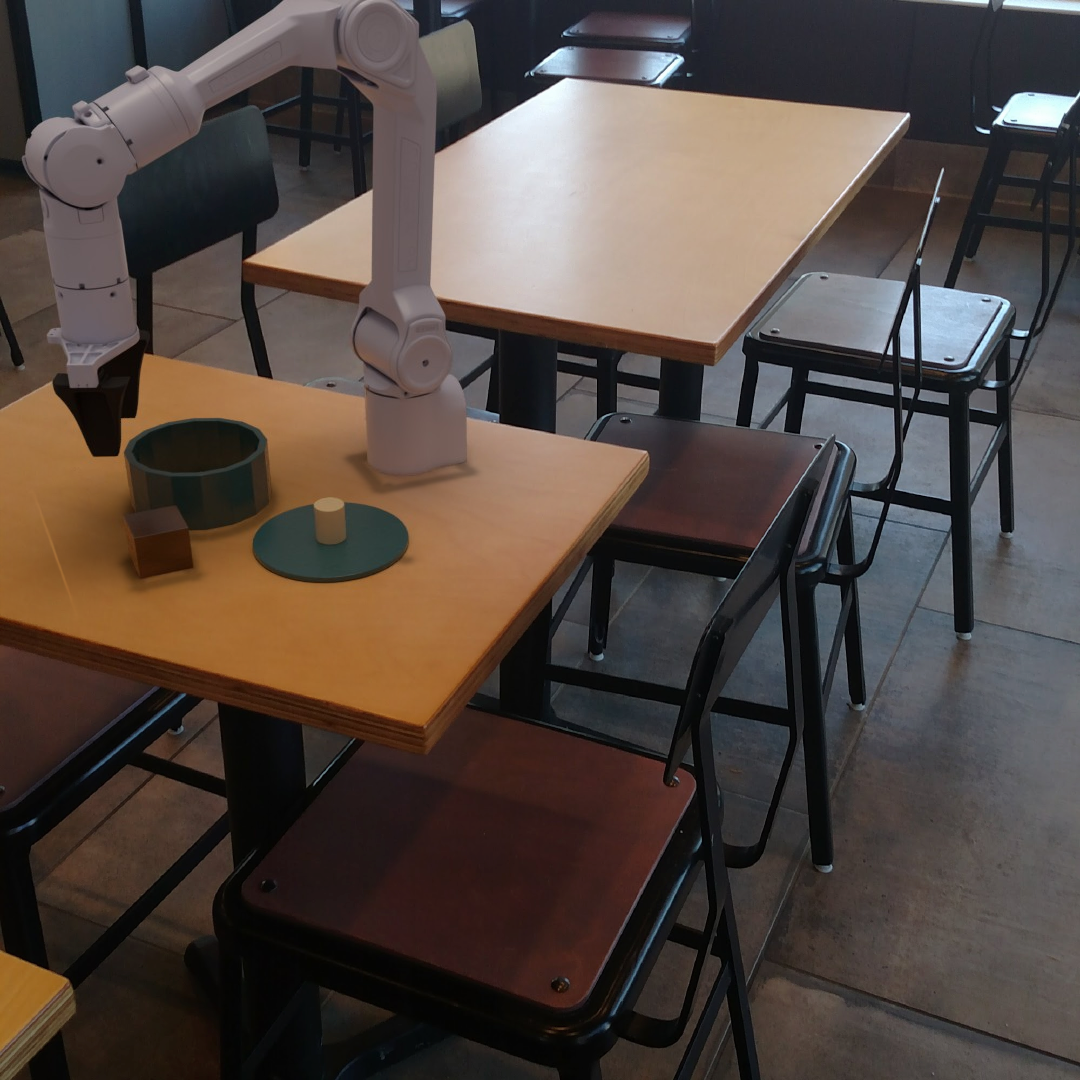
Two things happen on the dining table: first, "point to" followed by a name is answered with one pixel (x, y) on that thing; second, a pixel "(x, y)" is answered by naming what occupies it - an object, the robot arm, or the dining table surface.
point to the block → (158, 541)
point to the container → (200, 470)
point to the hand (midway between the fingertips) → (115, 435)
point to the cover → (330, 541)
